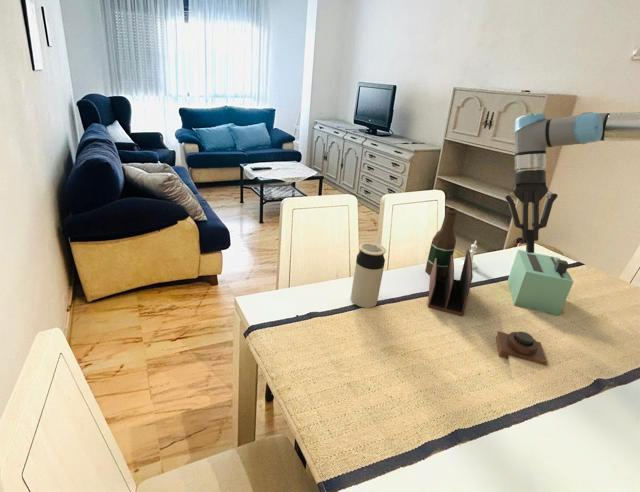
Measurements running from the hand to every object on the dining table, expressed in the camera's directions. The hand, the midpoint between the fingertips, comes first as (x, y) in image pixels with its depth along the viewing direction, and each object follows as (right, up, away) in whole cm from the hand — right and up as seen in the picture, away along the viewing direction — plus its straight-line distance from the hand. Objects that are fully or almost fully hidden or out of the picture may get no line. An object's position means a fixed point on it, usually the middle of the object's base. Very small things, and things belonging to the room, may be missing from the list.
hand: (530, 252), depth 111 cm
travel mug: (-47, -15, +5) cm, 50 cm away
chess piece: (-3, -7, +30) cm, 31 cm away
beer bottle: (-18, -9, +23) cm, 31 cm away
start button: (-11, -22, -14) cm, 28 cm away
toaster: (+8, -15, +12) cm, 21 cm away
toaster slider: (+11, -6, +4) cm, 13 cm away
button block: (-11, -25, -13) cm, 30 cm away
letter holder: (-20, -15, +10) cm, 27 cm away
